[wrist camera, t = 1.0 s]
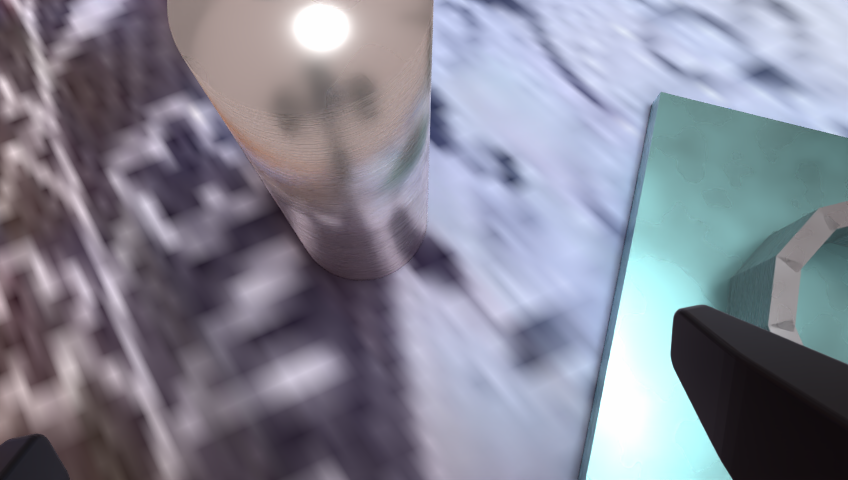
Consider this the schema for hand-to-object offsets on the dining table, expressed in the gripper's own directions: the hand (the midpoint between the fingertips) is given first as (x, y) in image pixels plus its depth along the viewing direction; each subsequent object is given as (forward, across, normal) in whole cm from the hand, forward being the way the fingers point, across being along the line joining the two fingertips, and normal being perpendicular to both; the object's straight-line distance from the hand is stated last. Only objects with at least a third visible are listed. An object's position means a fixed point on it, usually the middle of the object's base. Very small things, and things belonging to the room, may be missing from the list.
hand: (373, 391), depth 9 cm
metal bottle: (+16, 0, +4) cm, 16 cm away
